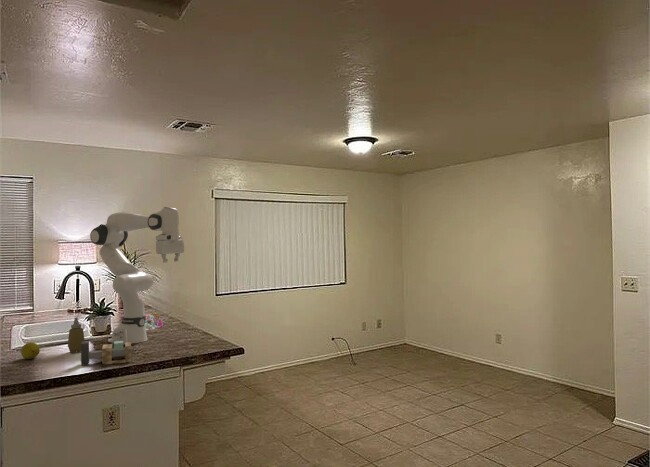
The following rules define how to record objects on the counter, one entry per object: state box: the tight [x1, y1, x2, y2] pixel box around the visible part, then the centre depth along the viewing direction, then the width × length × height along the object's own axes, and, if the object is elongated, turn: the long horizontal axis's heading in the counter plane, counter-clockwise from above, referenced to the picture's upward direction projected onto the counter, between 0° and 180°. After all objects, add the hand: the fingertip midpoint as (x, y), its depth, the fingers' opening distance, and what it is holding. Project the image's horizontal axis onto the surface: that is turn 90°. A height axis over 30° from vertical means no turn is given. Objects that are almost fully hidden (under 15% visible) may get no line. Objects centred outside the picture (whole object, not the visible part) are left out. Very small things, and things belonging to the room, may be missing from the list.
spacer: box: [113, 341, 124, 351], centre depth 227 cm, size 4×5×4 cm
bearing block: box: [101, 342, 132, 365], centre depth 227 cm, size 12×9×8 cm
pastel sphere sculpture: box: [144, 312, 164, 332], centre depth 310 cm, size 25×24×9 cm
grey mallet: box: [80, 340, 134, 366], centre depth 225 cm, size 22×5×10 cm, turn 113°
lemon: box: [20, 342, 40, 360], centre depth 233 cm, size 11×8×8 cm
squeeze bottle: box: [67, 316, 85, 354], centre depth 246 cm, size 8×8×18 cm
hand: (170, 261), depth 256 cm, fingers open, 8 cm apart
